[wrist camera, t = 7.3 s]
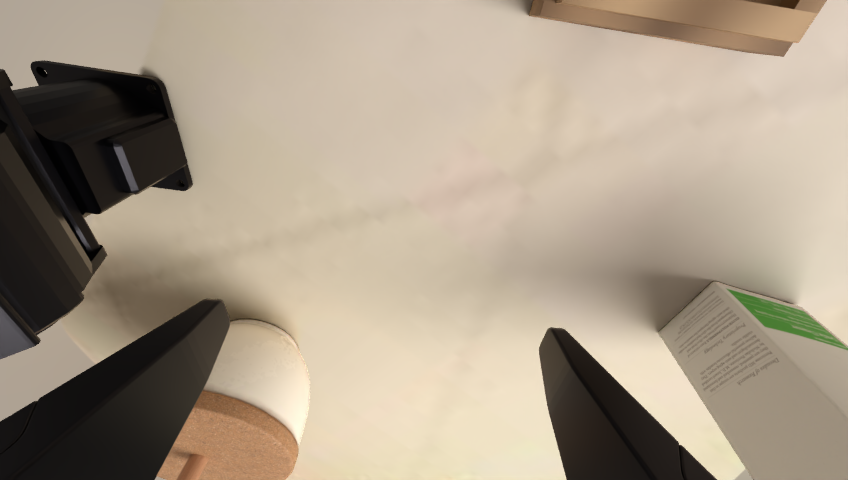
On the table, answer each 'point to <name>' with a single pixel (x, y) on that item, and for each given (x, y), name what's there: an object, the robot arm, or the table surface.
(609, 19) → the square wooden tray
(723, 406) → the skincare box
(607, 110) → the table surface
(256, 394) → the lidded bowl
